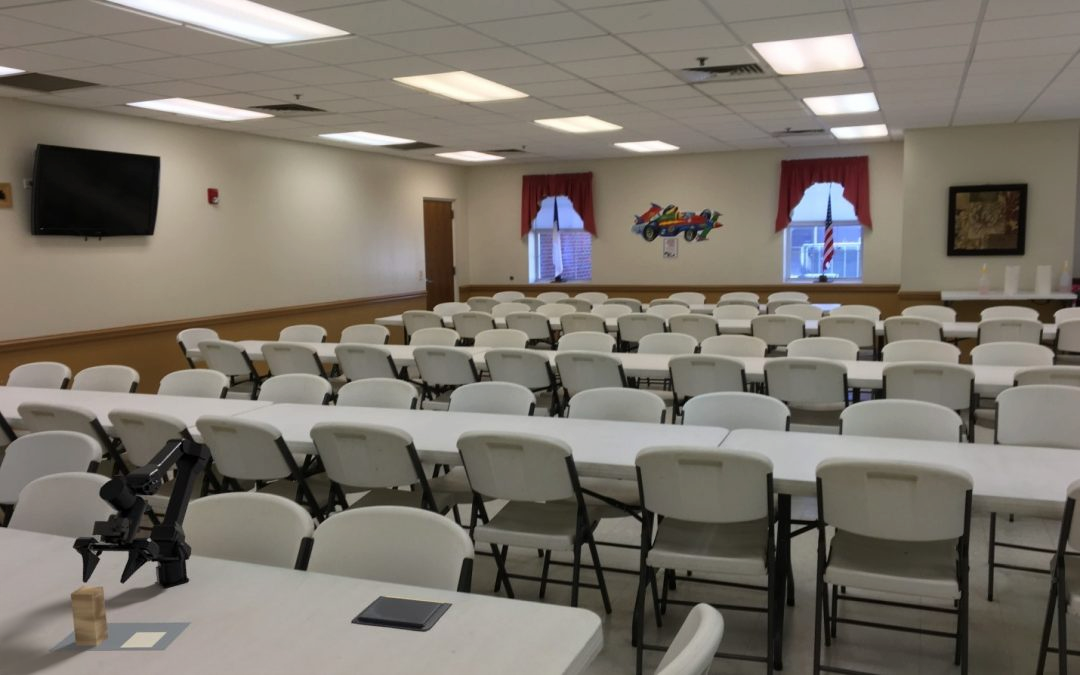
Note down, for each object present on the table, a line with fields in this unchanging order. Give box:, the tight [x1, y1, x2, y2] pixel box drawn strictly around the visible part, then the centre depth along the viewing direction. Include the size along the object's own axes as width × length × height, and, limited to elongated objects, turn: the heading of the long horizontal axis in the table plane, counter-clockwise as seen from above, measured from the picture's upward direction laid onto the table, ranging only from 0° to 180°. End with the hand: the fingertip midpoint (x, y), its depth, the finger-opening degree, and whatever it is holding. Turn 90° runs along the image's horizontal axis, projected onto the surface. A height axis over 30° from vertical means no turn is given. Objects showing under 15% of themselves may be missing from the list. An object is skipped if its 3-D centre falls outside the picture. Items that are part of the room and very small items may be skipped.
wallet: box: [350, 595, 453, 633], centre depth 198 cm, size 20×2×15 cm
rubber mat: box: [48, 621, 192, 652], centre depth 189 cm, size 26×13×1 cm, turn 87°
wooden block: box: [70, 585, 108, 646], centre depth 186 cm, size 4×5×12 cm
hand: (103, 582), depth 191 cm, fingers open, 9 cm apart
